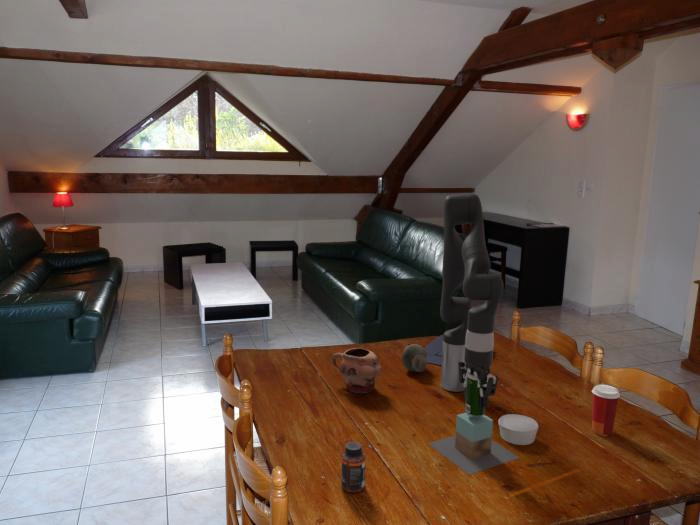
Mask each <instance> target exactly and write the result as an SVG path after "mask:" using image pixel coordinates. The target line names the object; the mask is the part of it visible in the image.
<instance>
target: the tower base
mask: <svg viewBox="0 0 700 525" xmlns="http://www.w3.org/2000/svg"><path fill="white" fill-rule="evenodd" d="M455 435H456V439H455V448H456V449H458V450H459V451H460V452H462V453H463V454H465V455H466V456H467V457H469V458H470V459H474V458H477V457H480V456H484V455H487V454H490V453H491V443H492V440H493V436H492V437H489V438H486V439H483V440H479V441H476V442H473V443H472V442H471V441H469V440H468V439H466V438H465V437H463V436H462V435H460V434H459V433H458V432H456V431H455Z"/></svg>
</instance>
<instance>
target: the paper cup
mask: <svg viewBox="0 0 700 525" xmlns="http://www.w3.org/2000/svg"><path fill="white" fill-rule="evenodd" d="M591 392H592V411H591V412H592V414H591V417H592V418H591V431H592V430H593V431H594V432H595V433H597V434H600V435H611V434H613V429H614V425H615V420H616V415H617V410H618V404H619V398H620V397H621V394H620V392H619V389H618V388H616V387H614V386H611V385H607V384H596V385H595V386H594V387H593V388H592V390H591ZM595 433H594V434H595ZM597 434H596V435H597ZM611 436H612V435H611Z"/></svg>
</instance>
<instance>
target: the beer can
mask: <svg viewBox="0 0 700 525" xmlns="http://www.w3.org/2000/svg"><path fill="white" fill-rule="evenodd" d="M479 377H480V376H479ZM480 382H481V385H483V384H486V381H481V380H480ZM477 384H478V380H477V378H476V376H474V374H473V373H468V375H467V387H466V400H465V405H464V406H465V407H464V411H465V412H464V413H466V414H467V415H468V416H470V417H474V418H479V417H482V416H483V415H485V413H486V408H485V409H480V408H479V401H480V391H479V388H478V387H477ZM483 390H484V392H485V387H484V388H483Z"/></svg>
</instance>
